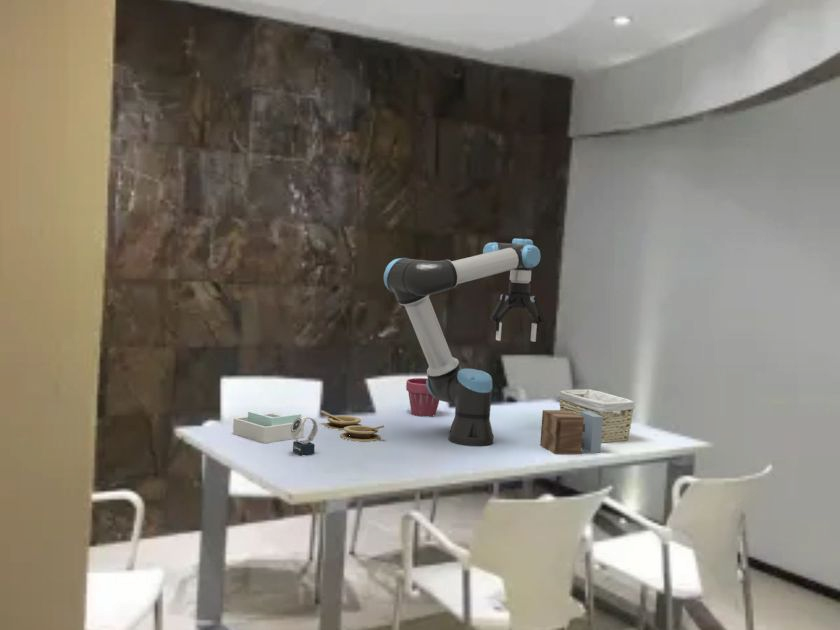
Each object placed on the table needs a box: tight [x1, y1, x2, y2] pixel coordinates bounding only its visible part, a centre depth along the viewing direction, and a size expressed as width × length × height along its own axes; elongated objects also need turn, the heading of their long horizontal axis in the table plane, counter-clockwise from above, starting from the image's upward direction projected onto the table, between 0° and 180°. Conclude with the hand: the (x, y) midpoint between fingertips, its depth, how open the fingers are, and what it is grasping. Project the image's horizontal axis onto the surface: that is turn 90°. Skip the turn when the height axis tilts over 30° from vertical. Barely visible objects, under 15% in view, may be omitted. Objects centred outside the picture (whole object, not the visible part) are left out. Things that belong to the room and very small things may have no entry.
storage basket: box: [558, 388, 636, 444], centre depth 328 cm, size 24×16×15 cm
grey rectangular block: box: [580, 411, 603, 454], centre depth 305 cm, size 9×4×12 cm, turn 18°
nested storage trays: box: [232, 412, 305, 444], centre depth 295 cm, size 16×16×5 cm
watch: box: [291, 415, 319, 457], centre depth 275 cm, size 6×8×11 cm
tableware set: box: [319, 409, 385, 443], centre depth 309 cm, size 30×20×6 cm, turn 25°
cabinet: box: [539, 409, 585, 455], centre depth 302 cm, size 12×10×12 cm
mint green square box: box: [247, 411, 302, 427], centre depth 295 cm, size 12×12×8 cm
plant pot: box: [405, 377, 440, 417], centre depth 347 cm, size 14×14×13 cm
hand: (515, 340), depth 330 cm, fingers open, 13 cm apart
